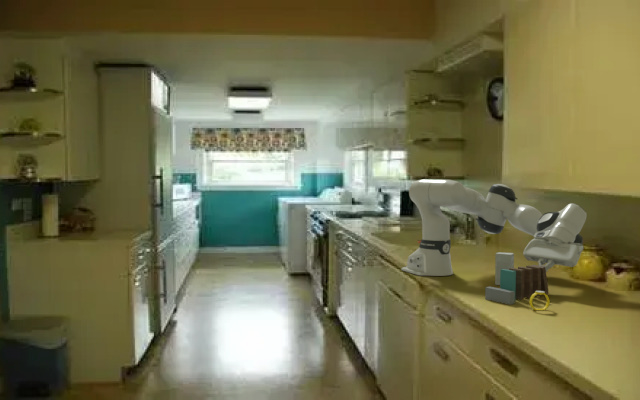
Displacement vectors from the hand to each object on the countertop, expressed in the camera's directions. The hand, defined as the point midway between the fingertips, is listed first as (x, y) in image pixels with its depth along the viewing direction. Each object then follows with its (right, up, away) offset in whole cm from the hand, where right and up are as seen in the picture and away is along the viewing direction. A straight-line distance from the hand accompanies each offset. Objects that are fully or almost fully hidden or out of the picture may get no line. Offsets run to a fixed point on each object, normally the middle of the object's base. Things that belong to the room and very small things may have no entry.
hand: (541, 270), depth 219 cm
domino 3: (-7, -8, -4) cm, 12 cm away
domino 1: (-15, -9, -10) cm, 20 cm away
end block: (-18, -9, -12) cm, 23 cm away
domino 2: (-11, -8, -7) cm, 16 cm away
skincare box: (-8, -7, +17) cm, 20 cm away
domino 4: (-4, -8, -2) cm, 9 cm away
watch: (-9, -10, -24) cm, 27 cm away
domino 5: (0, -8, +1) cm, 8 cm away
